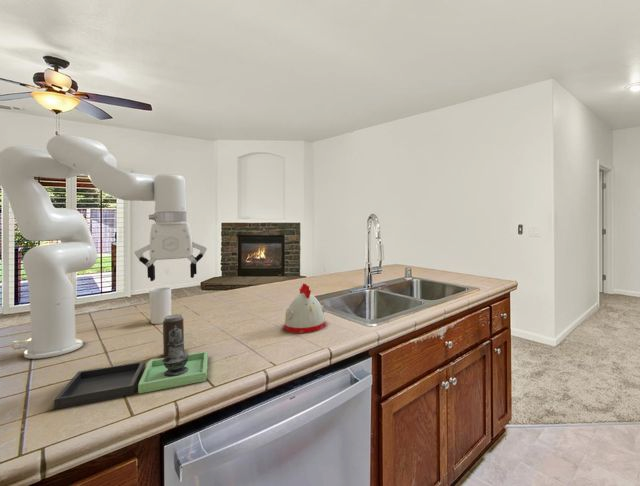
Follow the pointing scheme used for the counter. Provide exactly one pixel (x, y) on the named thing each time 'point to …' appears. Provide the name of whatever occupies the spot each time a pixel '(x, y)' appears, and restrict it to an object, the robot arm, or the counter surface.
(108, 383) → the dark tray
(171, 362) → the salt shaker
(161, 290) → the mug
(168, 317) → the pepper shaker
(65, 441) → the counter surface
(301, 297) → the kitchen timer
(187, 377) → the pale tray
